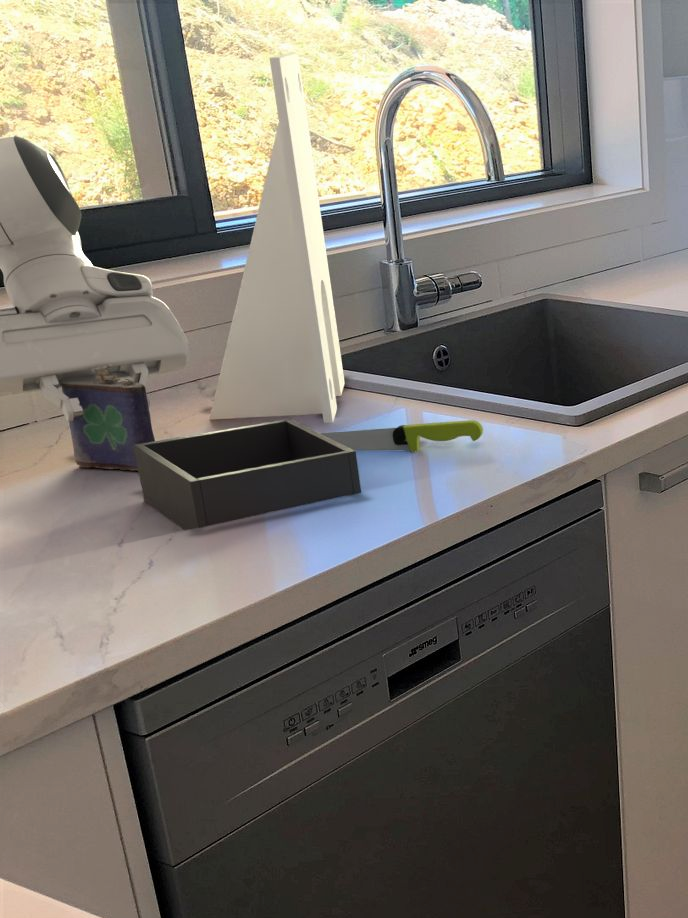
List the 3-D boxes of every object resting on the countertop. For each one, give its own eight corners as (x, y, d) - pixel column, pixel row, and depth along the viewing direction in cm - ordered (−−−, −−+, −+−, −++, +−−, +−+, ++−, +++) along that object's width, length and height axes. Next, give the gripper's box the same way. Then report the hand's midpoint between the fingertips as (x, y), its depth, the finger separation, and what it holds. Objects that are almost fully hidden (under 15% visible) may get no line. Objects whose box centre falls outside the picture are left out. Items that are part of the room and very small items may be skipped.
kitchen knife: (286, 462, 155) (279, 436, 153) (290, 459, 156) (284, 433, 155) (483, 448, 154) (478, 422, 153) (486, 445, 155) (481, 419, 154)
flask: (70, 466, 147) (52, 365, 143) (89, 459, 150) (71, 360, 146) (150, 472, 146) (134, 370, 142) (167, 466, 149) (152, 365, 145)
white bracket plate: (227, 389, 179) (168, 52, 163) (344, 383, 183) (298, 53, 166) (202, 429, 162) (133, 57, 145) (332, 422, 165) (279, 57, 149)
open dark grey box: (201, 542, 127) (190, 482, 125) (144, 501, 138) (132, 444, 135) (363, 507, 137) (356, 451, 135) (298, 471, 148) (290, 418, 145)
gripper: (-50, 296, 139) (-1, 412, 136) (163, 275, 151) (212, 380, 149) (-51, 333, 143) (-2, 446, 141) (157, 309, 156) (204, 412, 154)
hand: (110, 412), depth 145 cm, fingers closed on flask, 5 cm apart
